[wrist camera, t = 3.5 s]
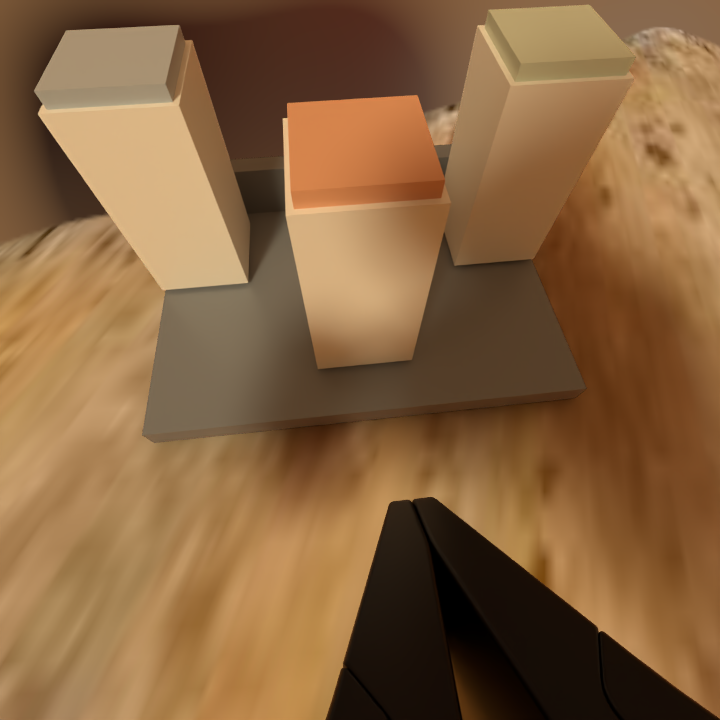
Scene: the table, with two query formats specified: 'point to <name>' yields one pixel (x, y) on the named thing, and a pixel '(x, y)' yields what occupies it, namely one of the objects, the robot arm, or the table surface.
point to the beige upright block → (528, 126)
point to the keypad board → (350, 383)
